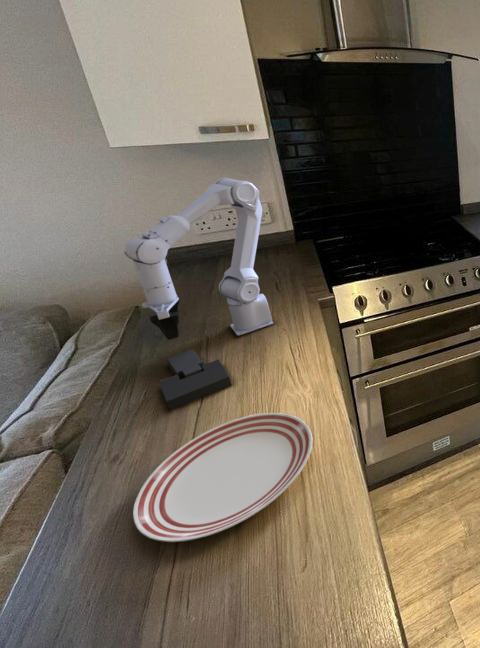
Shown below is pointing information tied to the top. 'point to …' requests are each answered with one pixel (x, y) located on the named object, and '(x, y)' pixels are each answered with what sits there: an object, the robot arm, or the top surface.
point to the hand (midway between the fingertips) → (173, 331)
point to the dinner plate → (222, 477)
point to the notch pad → (195, 385)
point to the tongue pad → (185, 364)
